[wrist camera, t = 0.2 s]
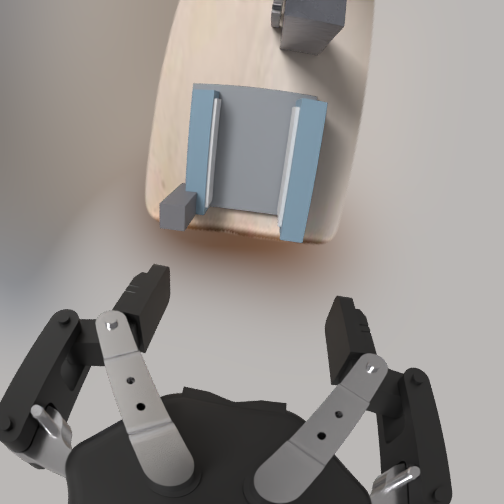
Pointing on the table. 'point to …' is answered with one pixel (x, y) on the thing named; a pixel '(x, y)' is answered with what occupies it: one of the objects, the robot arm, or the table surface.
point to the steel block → (311, 24)
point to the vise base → (267, 153)
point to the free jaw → (195, 164)
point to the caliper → (276, 13)
